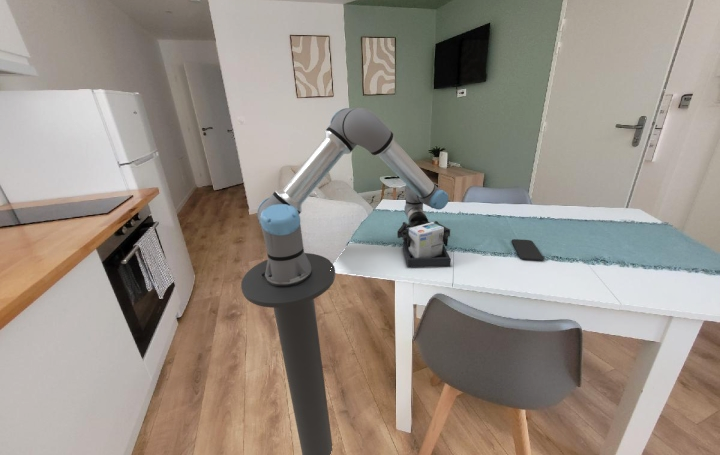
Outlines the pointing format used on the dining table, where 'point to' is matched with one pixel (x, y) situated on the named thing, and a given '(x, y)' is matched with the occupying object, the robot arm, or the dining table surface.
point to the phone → (527, 250)
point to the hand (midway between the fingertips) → (427, 243)
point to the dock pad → (426, 259)
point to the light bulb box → (426, 240)
